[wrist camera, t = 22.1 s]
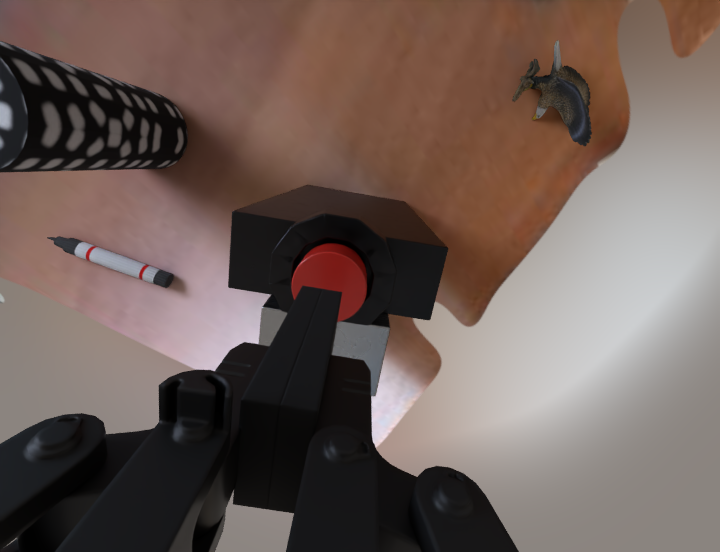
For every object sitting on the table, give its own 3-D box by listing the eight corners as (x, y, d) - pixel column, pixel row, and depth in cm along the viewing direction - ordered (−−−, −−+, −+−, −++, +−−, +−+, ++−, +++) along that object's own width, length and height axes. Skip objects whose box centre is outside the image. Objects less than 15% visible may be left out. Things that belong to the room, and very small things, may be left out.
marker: (174, 271, 46) (166, 276, 44) (171, 285, 46) (163, 290, 44) (56, 229, 44) (42, 232, 42) (55, 243, 45) (41, 246, 43)
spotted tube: (157, 76, 39) (-47, -9, 20) (202, 146, 41) (56, 132, 22) (101, 115, 40) (-142, 71, 21) (146, 181, 42) (-37, 195, 23)
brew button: (372, 248, 18) (373, 258, 16) (360, 312, 19) (360, 328, 17) (303, 236, 18) (295, 245, 16) (295, 301, 19) (287, 316, 17)
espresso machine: (397, 237, 44) (435, 335, 19) (376, 342, 48) (384, 532, 23) (302, 221, 43) (214, 299, 19) (290, 328, 48) (206, 506, 23)
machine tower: (406, 193, 42) (461, 236, 17) (396, 245, 44) (431, 351, 19) (308, 176, 42) (218, 195, 17) (301, 229, 44) (213, 316, 19)
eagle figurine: (493, 127, 38) (569, 163, 38) (528, 73, 32) (621, 116, 31) (516, 80, 40) (588, 113, 40) (554, 19, 34) (641, 59, 33)
